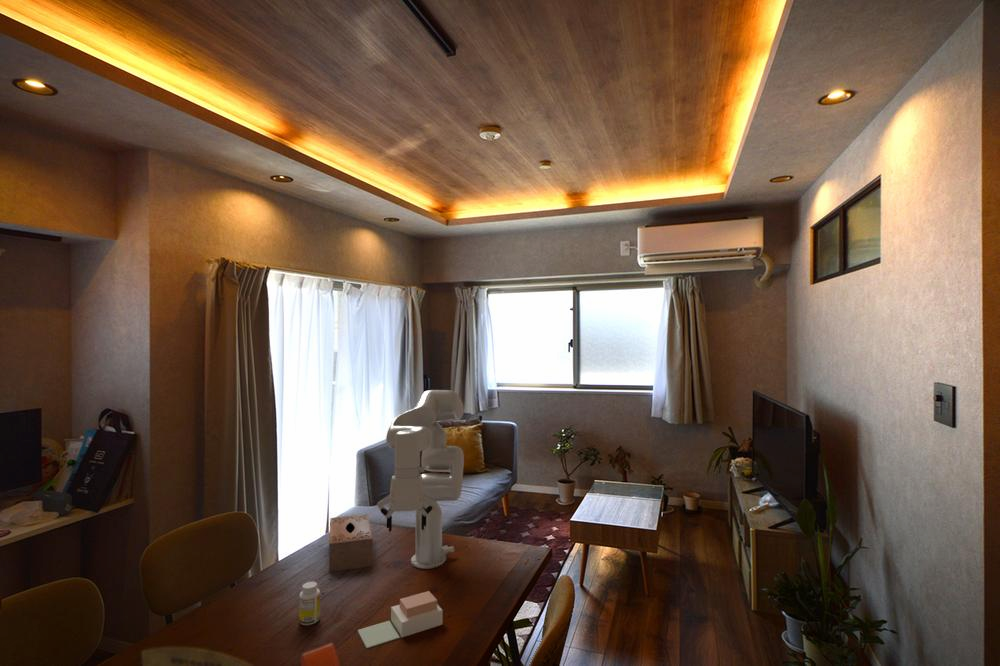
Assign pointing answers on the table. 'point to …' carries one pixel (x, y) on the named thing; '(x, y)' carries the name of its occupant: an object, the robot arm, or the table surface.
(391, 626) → the mat
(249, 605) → the table surface
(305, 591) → the supplement bottle
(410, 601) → the pink rectangular block
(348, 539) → the tissue box cover
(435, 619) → the white rectangular block
